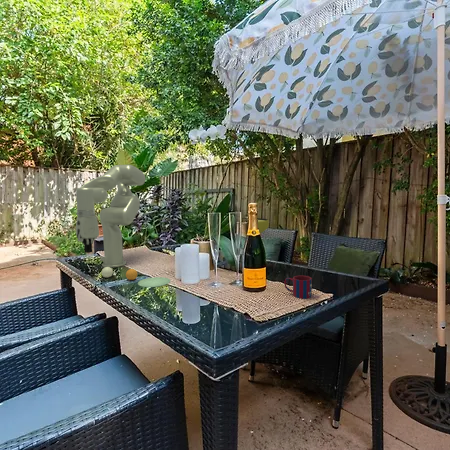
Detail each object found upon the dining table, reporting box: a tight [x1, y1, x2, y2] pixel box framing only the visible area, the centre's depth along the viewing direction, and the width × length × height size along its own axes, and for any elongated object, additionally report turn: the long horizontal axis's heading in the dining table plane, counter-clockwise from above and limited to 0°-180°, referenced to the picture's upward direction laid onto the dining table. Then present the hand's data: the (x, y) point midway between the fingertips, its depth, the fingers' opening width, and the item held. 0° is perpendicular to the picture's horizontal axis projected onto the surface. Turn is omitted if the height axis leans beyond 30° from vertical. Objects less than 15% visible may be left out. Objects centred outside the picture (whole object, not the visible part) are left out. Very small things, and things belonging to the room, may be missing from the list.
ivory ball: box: [100, 267, 114, 279], centre depth 145 cm, size 5×5×5 cm
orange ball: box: [125, 268, 138, 281], centre depth 140 cm, size 5×5×5 cm
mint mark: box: [137, 276, 171, 288], centre depth 136 cm, size 14×14×1 cm
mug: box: [283, 275, 313, 300], centre depth 115 cm, size 7×10×7 cm
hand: (88, 252), depth 147 cm, fingers closed
